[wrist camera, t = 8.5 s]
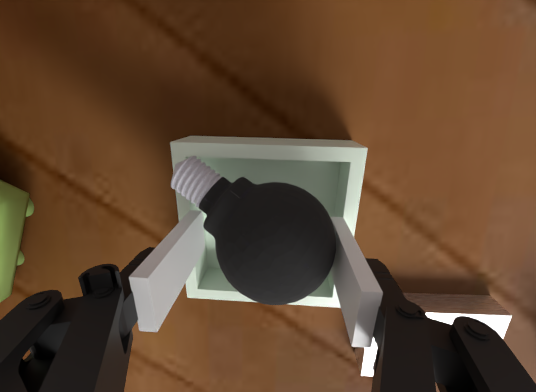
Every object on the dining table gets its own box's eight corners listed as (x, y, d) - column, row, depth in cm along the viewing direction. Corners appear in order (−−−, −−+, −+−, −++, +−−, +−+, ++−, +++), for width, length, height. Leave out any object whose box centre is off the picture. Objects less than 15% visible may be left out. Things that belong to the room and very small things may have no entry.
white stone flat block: (353, 348, 23) (360, 375, 21) (361, 288, 21) (370, 310, 19) (464, 353, 23) (485, 382, 20) (485, 291, 20) (512, 315, 18)
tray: (201, 269, 21) (187, 297, 18) (190, 135, 17) (170, 142, 14) (334, 277, 20) (342, 307, 17) (352, 140, 17) (367, 147, 14)
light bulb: (143, 133, 9) (362, 299, 9) (227, 104, 14) (365, 210, 14) (116, 233, 13) (273, 350, 13) (190, 180, 18) (301, 264, 18)
